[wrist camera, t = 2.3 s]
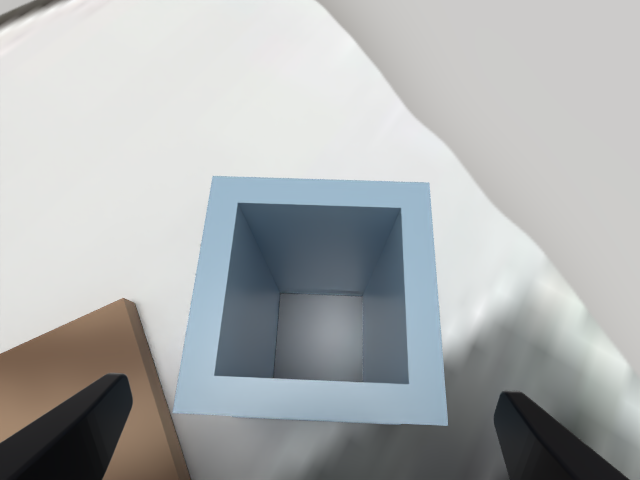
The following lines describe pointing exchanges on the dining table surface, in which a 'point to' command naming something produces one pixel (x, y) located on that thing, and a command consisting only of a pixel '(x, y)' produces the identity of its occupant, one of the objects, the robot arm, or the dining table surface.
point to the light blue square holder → (315, 278)
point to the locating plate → (82, 370)
